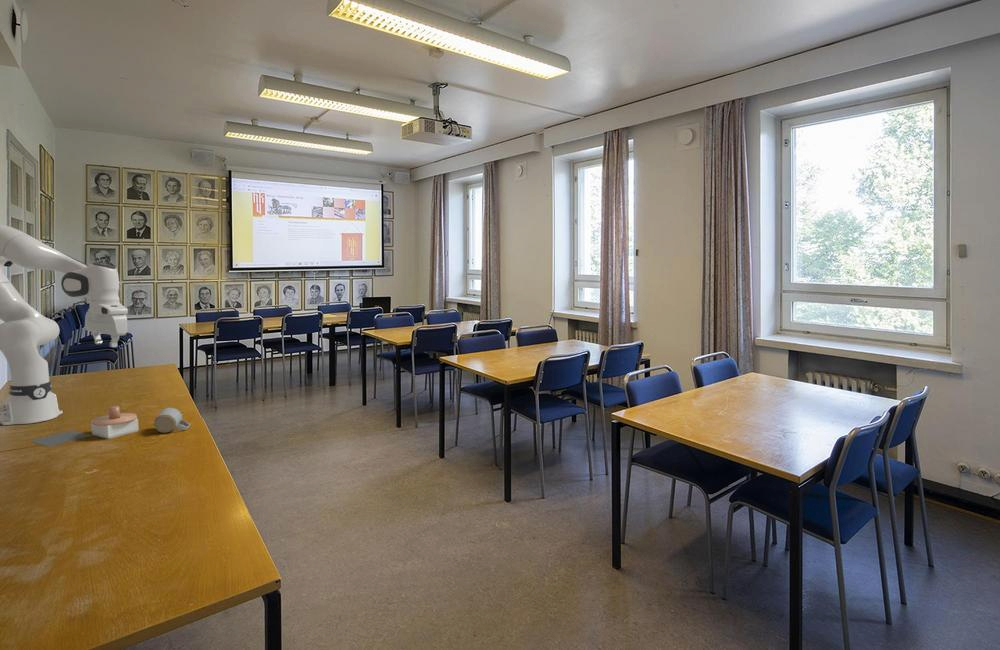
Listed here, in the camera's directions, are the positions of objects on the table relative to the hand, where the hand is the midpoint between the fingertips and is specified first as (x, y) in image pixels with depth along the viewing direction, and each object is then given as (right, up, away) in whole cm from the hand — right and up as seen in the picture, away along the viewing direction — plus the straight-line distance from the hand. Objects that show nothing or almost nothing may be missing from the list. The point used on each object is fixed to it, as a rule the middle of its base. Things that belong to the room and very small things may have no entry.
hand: (106, 345), depth 195 cm
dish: (+7, -32, -4) cm, 33 cm away
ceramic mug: (+24, -31, +1) cm, 39 cm away
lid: (+7, -27, -5) cm, 28 cm away
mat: (-7, -32, -11) cm, 35 cm away
